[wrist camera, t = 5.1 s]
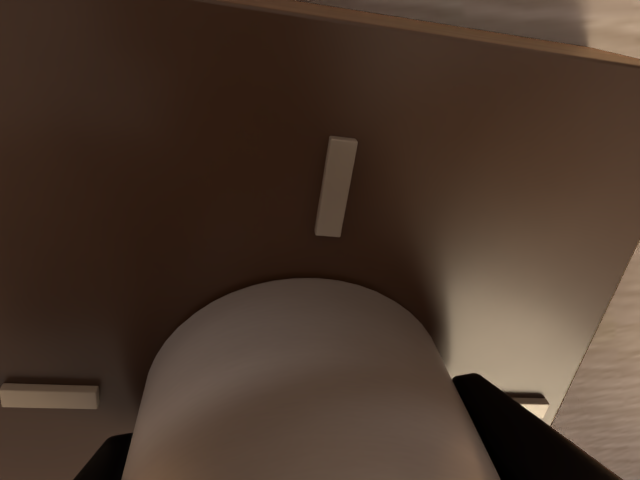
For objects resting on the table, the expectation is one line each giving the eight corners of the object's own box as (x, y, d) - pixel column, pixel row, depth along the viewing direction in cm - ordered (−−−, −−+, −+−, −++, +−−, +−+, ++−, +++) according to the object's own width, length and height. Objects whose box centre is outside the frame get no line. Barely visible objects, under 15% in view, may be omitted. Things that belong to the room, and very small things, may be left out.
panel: (9, -46, 8) (-120, -52, 5) (592, 47, 10) (729, 79, 7) (64, 483, 13) (16, 619, 11) (433, 482, 15) (474, 599, 12)
